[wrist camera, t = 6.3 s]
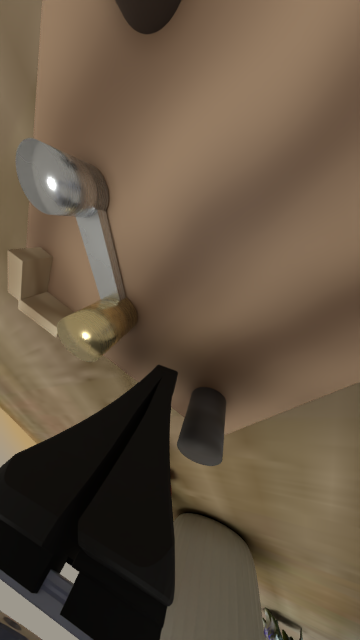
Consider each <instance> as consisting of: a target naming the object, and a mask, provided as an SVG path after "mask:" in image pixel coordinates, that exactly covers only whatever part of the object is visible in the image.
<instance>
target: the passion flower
mask: <svg viewBox="0 0 360 640" xmlns="http://www.w3.org/2000/svg"><path fill="white" fill-rule="evenodd" d="M265 615H266V620H265V619H264V618H262V620H263V623H264V635H265V640H293V638H292V637H290V638H289V637H288V635H287V634H286V632H285V631H284V630H282V634H283V638H282V635H281V632H280V629H279V626H278V620H275V618H274V617H273V616H272V614H271V613H270V611H269V610H268V609H267V608H265ZM299 640H303V638H302V628H301V631H300V639H299Z"/></svg>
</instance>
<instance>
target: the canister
mask: <svg viewBox="0 0 360 640" xmlns="http://www.w3.org/2000/svg"><path fill="white" fill-rule="evenodd" d="M173 525H174V536H175V592H174V600H173V603H172V604H171V605H170V606H167V611H166V616H165V622H164V626H163V628H162V631H161V636H160V640H265V635H264V628H263V620H262V612H261V604H260V597H259V589H258V582H257V575H256V570H255V565H254V561H253V557H252V554H251V552H250V550H249V548H248V546H247V544H246V543H245V542H244V540H243V539H242V538H241V537H240V536H239V535H238V534H236V533H235V532H234V531H232V530H231V529H229V528H228V527H226V526H225V525H223V524H221V523H219V522H217V521H215V520H213V519H210V518H208V517H205V516H202V515H198V514H193V513H184V514H181V515H179V516H178V517H177V518H176V519H175V521H174V522H173Z"/></svg>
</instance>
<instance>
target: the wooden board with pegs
mask: <svg viewBox="0 0 360 640" xmlns="http://www.w3.org/2000/svg"><path fill="white" fill-rule="evenodd" d="M33 139H36V140H39V141H41V142H43V143H45V144H47V145H50V146H52V147H54V148H56V149H58V150H61V151H63V152H65V153H67V154H69V155H72V156H74V157H76V158H78V159H80V160H82V161H85V162H87V163H89V164H91V165H93V166H95V167H96V168H97V169H98V170H99V171H100V173H101V174H102V176H103V177H104V179H105V182H106V184H107V188H108V194H109V201H108V207H107V209H106V215H107V219H108V223H109V228H110V232H111V236H112V240H113V245H114V249H115V253H116V258H117V262H118V266H119V271H120V275H121V279H122V284H123V288H124V292H125V297H126V298H127V299H128V300H130V301H131V303H132V304H133V305H134V307H135V309H136V311H137V314H138V321H137V324H136V325H135V327H134V328H133V329H131V330H130V331H129V332H128V333H127V334H126V335H125V336H124V337H123V338H121V339H120V340H119V341H118V342H117V343H116V344H115V345H114V346H113V347H111V348H110V349H109V350H108V351H107V352H106V353H105V354H104V356H105V357H106V358H107V359H109V360H110V361H111V362H113V363H114V364H115V365H117V366H118V367H119V368H121V369H122V370H123V371H125V372H126V373H127V374H128V375H130V376H131V377H132V378H134V379H135V380H136V381H138V382H140V381H141V380H142V379H143V378H144V377H145V376H147V375H148V374H149V373H150V372H151V371H152V370H153V369H154V368H155V367H156V366H157V365H162V366H164V367H167V368H170V369H172V370H175V371H177V372H178V376H177V381H176V385H175V389H174V393H173V396H172V402H171V407H172V408H173V409H174V410H176V411H177V412H178V413H180V414H181V415H182V416H183V417H185V418H184V422H183V425H182V429H181V432H180V435H179V439H178V442H177V447H178V449H179V450H180V452H181V453H182V454H183V455H184V456H186V457H187V458H188V459H190V460H192V461H194V462H196V463H199V464H202V465H207V466H215V465H218V464H220V463H221V462H222V456H223V442H224V435H226V434H229V433H231V432H234V431H236V430H239V429H241V428H244V427H247V426H249V425H252V424H254V423H257V422H259V421H262V420H264V419H267V418H269V417H272V416H275V415H277V414H280V413H282V412H285V411H287V410H290V409H292V408H295V407H297V406H300V405H302V404H305V403H308V402H310V401H313V400H315V399H318V398H320V397H323V396H325V395H328V394H330V393H333V392H336V391H338V390H341V389H343V388H346V387H348V386H351V385H353V384H356V383H358V382H360V0H42V13H41V28H40V43H39V59H38V74H37V89H36V105H35V120H34V135H33ZM8 292H9V293H10V294H11V295H13V296H14V297H15V298H17V299H18V309H19V310H20V311H22V312H23V313H24V314H26V315H27V316H28V317H30V318H31V319H32V320H34V321H35V322H36V323H38V324H39V325H40V326H42V327H43V328H44V329H46V330H47V331H48V332H50V333H51V334H52V335H54V336H55V337H58V332H57V324H58V322H59V321H60V320H61V319H62V318H64V317H66V316H68V315H70V314H72V313H74V312H76V311H79V310H81V309H83V308H85V307H87V306H89V305H91V304H93V303H95V302H97V301H99V300H101V299H100V296H99V292H98V289H97V286H96V282H95V279H94V276H93V273H92V269H91V266H90V263H89V259H88V256H87V253H86V249H85V246H84V243H83V240H82V236H81V233H80V230H79V226H78V223H77V220H76V217H70V216H60V215H49V214H45V213H43V212H41V211H39V210H38V209H37V208H36V207H35V206H34V205H33V204H32V203H31V202H30V201H29V212H28V227H27V242H26V248H24V249H11V250H8Z"/></svg>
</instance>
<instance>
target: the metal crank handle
mask: <svg viewBox="0 0 360 640" xmlns="http://www.w3.org/2000/svg"><path fill="white" fill-rule="evenodd" d="M16 170H17V175H18V178H19V182H20V184H21V187H22V189H23V191H24V193H25V195H26V196H27V198H28V199H29V201H30V202H31V203H32V204H33V205H34V206H35V207H36V208H37V209H38V210H39V211H41V212H43V213H45V214H49V215H60V216H70V217H76V220H77V223H78V226H79V230H80V233H81V236H82V240H83V243H84V246H85V249H86V253H87V256H88V259H89V263H90V266H91V269H92V273H93V276H94V279H95V282H96V286H97V289H98V292H99V296H100V299H101V300H99V301H97V302H95V303H93V304H91V305H89V306H87V307H85V308H83V309H81V310H79V311H76V312H74V313H72V314H70V315H68V316H66V317H64V318H62V319H61V320H60V321H59V322H58V324H57V332H58V336H59V338H60V340H61V342H62V343H63V345H64V346H65V347H66V349H67V350H68V351H69V352H70V353H72V354H73V355H74V356H76V357H77V358H79V359H81V360H83V361H87V362H94V361H97V360H98V359H99V358H100V357H102V356H103V355H104V354H105V353H106V352H107V351H108V350H109V349H110V348H111V347H113V346H114V345H115V344H116V343H117V342H118V341H119V340H120V339H121V338H123V337H124V336H125V335H126V334H127V333H128V332H129V331H130V330H131V329H133V328H134V327H135V325H136V324H137V321H138V314H137V311H136V309H135V307H134V305H133V304H132V303H131V301H130V300H128V299H127V298H126V297H125V292H124V288H123V284H122V279H121V275H120V271H119V266H118V262H117V258H116V253H115V249H114V245H113V240H112V236H111V232H110V228H109V223H108V219H107V215H106V209H107V207H108V201H109V194H108V188H107V184H106V182H105V179H104V177H103V176H102V174H101V173H100V171H99V170H98V169H97V168H96V167H95V166H93V165H91V164H89V163H87V162H85V161H82V160H80V159H78V158H76V157H74V156H72V155H69V154H67V153H65V152H63V151H61V150H58V149H56V148H54V147H52V146H50V145H47V144H45V143H43V142H41V141H39V140H36V139H33V138H28V139H25V140H23V141H22V142H21V143H20V145H19V146H18V149H17V152H16Z"/></svg>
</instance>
